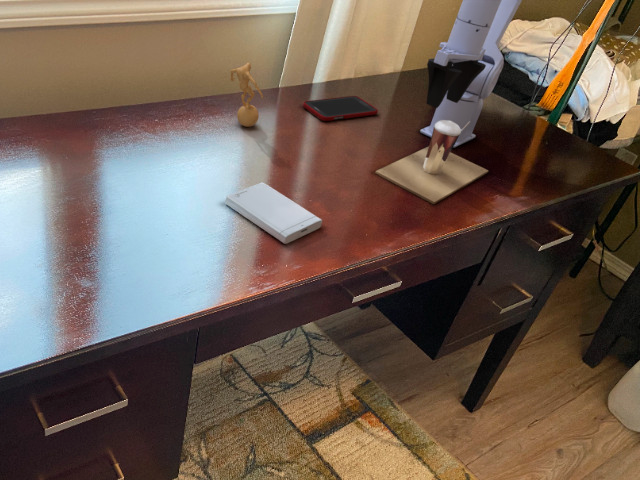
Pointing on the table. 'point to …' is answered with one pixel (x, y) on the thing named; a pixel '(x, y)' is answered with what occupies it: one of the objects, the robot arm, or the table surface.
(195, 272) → the table surface
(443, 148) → the milkshake
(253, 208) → the hard drive
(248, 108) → the figurine
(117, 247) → the table surface
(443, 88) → the robot arm
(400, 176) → the desk mat
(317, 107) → the cell phone
